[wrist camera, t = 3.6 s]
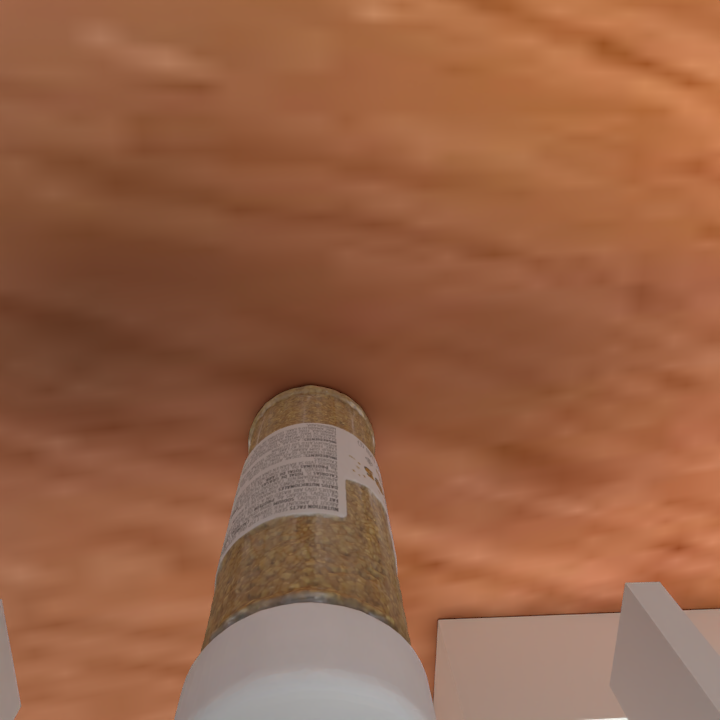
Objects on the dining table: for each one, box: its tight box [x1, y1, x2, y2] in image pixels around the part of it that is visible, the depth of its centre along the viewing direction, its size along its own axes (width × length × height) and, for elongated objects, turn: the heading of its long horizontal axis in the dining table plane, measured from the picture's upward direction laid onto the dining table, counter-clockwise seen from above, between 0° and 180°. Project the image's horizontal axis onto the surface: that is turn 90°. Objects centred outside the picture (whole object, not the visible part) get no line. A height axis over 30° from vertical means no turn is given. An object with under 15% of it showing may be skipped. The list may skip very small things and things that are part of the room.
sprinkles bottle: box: [174, 385, 436, 720], centre depth 16 cm, size 5×5×14 cm
